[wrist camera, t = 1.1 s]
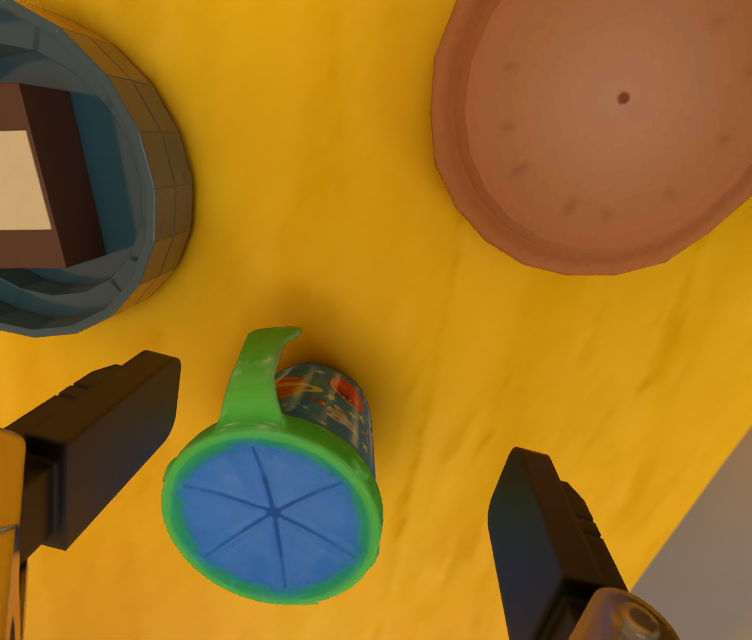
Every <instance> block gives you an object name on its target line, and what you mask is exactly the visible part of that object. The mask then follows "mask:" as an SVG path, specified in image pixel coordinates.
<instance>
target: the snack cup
mask: <svg viewBox="0 0 752 640" xmlns="http://www.w3.org/2000/svg"><path fill="white" fill-rule="evenodd" d="M301 333H302V329H301V328H300V327H292V326H287V327H275V328H265V329H259V330H255V331H252V332H251V333H249V334H248V336H247V338H246V340H245V342H244V346H243V348H242V351H241V353H240V356H239V358H238V361H237V363H236V365H235V368H234V370H233V372H232V375H231V377H230V380H229V383H228V387H227V390H226V394H225V397H224V400H223V405H222V410H221V414H220V418H219V420H218V422H217V423H215V424H213V425H211V426H210V427H208V428H206V429H205V430H203V431H202V432H201V433H199V434H198V435H197V436H196V437H195V438H194V439H193V440H192V441H190V442H189V443H188V444H187V445H186V446H185V448H184V449H183V450H182V451H181V452H180V453H179V455H178V456H177V457H176V458H174V459H173V460H172V461H171V462H170V463H169V464H168V466H167V468H166V471H165V474H164V477H163V483H164V484H163V490H162V495H161V505H162V515H163V519H164V523H165V525H166V528H167V531H168V533H169V535H170V537H171V539H172V541H173V543H174V544H175V546H176V547H177V549H178V550H179V551H180V553H181V554H182V555H183V557H184V558H185V559H186V560H187V561H188V562H189V563H190V564H191V565H192V566H193V567H194V568H195V569H196V570H197V571H198V572H200V573H201V574H202V575H203V576H205V577H206V578H207V579H209V580H210V581H212V582H213V583H215V584H216V585H218V586H220V587H222V588H224V589H226V590H228V591H230V592H232V593H235V594H237V595H239V596H242V597H245V598H249V599H252V600H256V601H259V602H265V603H271V604H281V605H310V604H318V602H319V601H322V600H326V599H329V598H330V597H333V596H336V595H338V594H340V593H342V592H344V591H346V590H347V589H349V588H350V587H352V586H353V585H354V584H356V583H357V582H358V581H359V580H360V579H361V578H362V577H363V575H364V574H365V573H366V571H367V570H368V569H369V568H370V567H372V565H373V564H374V562H375V560H376V558H377V556H378V554H379V543H380V538H381V532H382V525H383V505H382V499H381V496H380V491H379V488H378V485H377V483H376V476H375V462H374V446H373V437H372V430H373V429H372V421H371V415H370V409H369V406H368V402H367V400H366V399H365V397H364V395H363V392H362V389H360V387H359V386H358V385H357V383H356V382H354V381H352V380H351V379H349V378H348V377H346V376H345V375H343V374H342V373H340V372H338V371H336V370H334V369H331V368H329V367H325V366H321V365H316V364H311V363H310V362H308V363H304V364H297V365H295V366H293V367H290V368H287V369H285V370H283V371H280V372H278V373H276V374H275V371H276V368H277V366H278V361H279V358H280V356H281V353H282V349H283V348H284V345H285V344H286V343H287V342H289V341H290V340H292V339H294V338H296V337H297V336H298V335H300V334H301Z"/></svg>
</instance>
